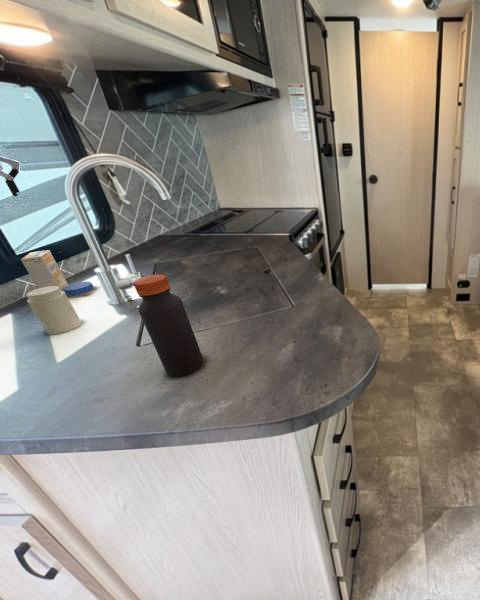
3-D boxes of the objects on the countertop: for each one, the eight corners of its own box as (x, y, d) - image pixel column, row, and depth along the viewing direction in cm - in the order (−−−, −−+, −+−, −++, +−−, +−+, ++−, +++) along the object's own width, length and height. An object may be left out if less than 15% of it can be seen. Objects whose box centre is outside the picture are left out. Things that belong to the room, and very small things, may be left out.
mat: (63, 298, 97) (62, 296, 97) (75, 290, 103) (74, 288, 102) (86, 295, 99) (85, 293, 99) (97, 287, 104) (96, 286, 104)
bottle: (205, 369, 65) (171, 281, 56) (166, 382, 62) (123, 290, 53) (203, 353, 70) (172, 269, 61) (167, 364, 67) (128, 277, 58)
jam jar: (39, 336, 78) (15, 298, 73) (57, 323, 83) (35, 287, 79) (72, 331, 79) (50, 294, 75) (87, 319, 85) (67, 283, 80)
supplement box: (64, 295, 99) (42, 255, 93) (43, 299, 97) (19, 259, 91) (70, 286, 105) (49, 249, 99) (50, 290, 103) (28, 252, 97)
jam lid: (80, 295, 97) (77, 290, 96) (58, 296, 97) (55, 290, 97) (99, 286, 103) (97, 281, 103) (79, 286, 104) (76, 281, 103)
